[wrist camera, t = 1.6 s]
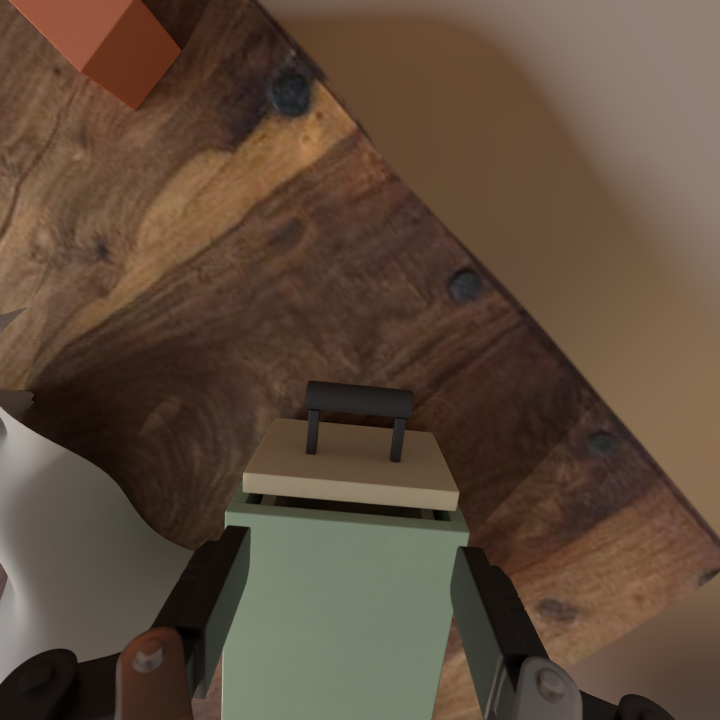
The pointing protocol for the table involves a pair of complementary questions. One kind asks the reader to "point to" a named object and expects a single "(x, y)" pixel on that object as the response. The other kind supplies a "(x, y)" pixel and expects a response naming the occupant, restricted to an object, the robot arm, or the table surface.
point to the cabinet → (339, 614)
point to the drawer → (352, 458)
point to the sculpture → (71, 549)
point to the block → (107, 42)
